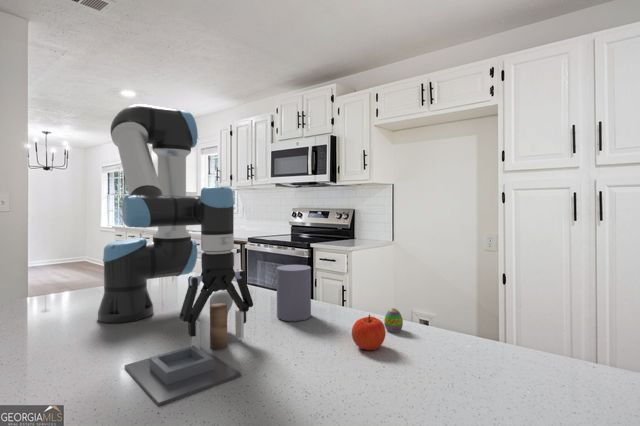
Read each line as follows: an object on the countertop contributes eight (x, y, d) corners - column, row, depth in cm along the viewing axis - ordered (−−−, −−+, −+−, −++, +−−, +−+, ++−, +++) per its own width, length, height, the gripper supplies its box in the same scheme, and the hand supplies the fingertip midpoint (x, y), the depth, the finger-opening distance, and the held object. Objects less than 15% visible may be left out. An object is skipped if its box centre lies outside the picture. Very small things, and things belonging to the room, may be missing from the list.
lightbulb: (226, 335, 97) (226, 293, 97) (205, 333, 98) (205, 292, 98) (236, 327, 103) (236, 288, 103) (216, 325, 104) (216, 287, 104)
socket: (124, 367, 78) (124, 354, 78) (197, 347, 89) (197, 335, 89) (158, 406, 63) (158, 389, 63) (241, 376, 74) (241, 361, 74)
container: (270, 319, 110) (270, 269, 110) (286, 310, 120) (286, 263, 119) (302, 323, 106) (302, 271, 106) (316, 313, 116) (316, 265, 115)
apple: (388, 343, 91) (388, 311, 91) (382, 356, 84) (382, 321, 83) (356, 339, 94) (356, 308, 94) (348, 351, 86) (348, 317, 86)
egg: (406, 330, 101) (406, 308, 100) (396, 335, 97) (396, 312, 97) (390, 326, 104) (390, 305, 104) (380, 330, 100) (380, 308, 100)
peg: (207, 346, 90) (206, 305, 89) (222, 342, 92) (221, 302, 92) (215, 351, 87) (214, 308, 86) (230, 346, 89) (230, 305, 89)
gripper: (175, 258, 78) (176, 361, 79) (267, 248, 94) (267, 334, 95) (162, 254, 84) (163, 351, 84) (251, 246, 99) (251, 327, 100)
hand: (218, 342), depth 89 cm, fingers open, 11 cm apart
